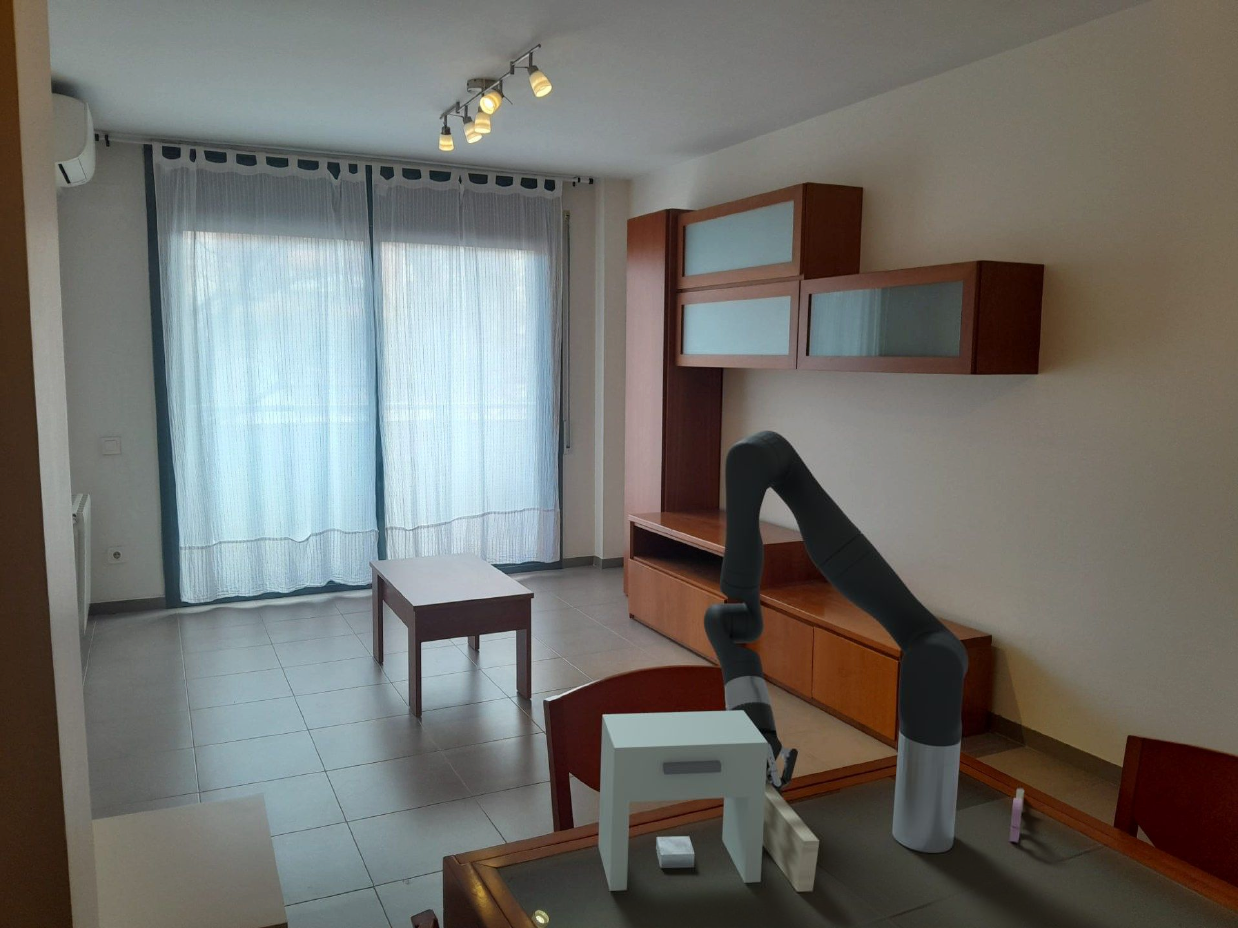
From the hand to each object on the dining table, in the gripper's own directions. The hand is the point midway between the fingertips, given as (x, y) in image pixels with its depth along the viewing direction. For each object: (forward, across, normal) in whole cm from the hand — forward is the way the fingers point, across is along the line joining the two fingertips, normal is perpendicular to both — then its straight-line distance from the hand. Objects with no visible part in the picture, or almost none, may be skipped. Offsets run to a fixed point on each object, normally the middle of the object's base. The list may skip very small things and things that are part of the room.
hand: (768, 812), depth 144 cm
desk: (+7, -16, -1) cm, 17 cm away
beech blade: (+6, 0, 0) cm, 6 cm away
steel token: (+6, -16, 0) cm, 17 cm away
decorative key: (+2, +44, +4) cm, 44 cm away
